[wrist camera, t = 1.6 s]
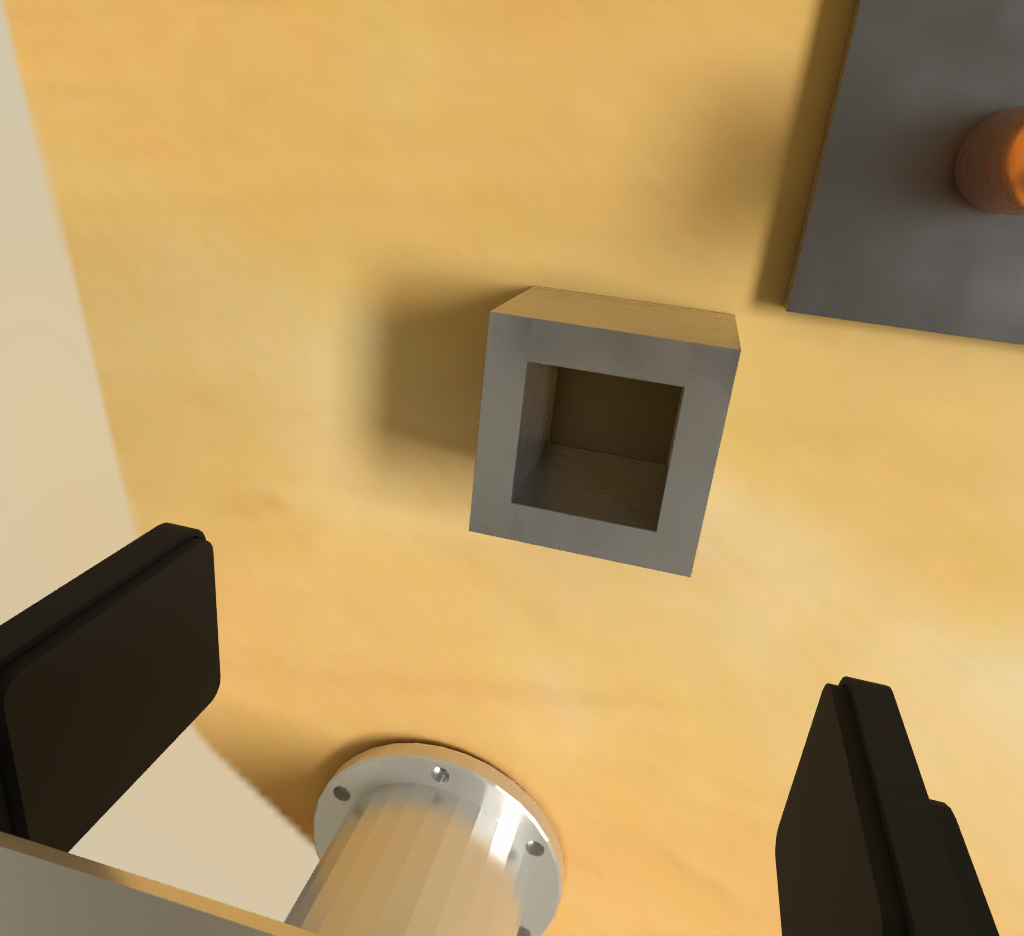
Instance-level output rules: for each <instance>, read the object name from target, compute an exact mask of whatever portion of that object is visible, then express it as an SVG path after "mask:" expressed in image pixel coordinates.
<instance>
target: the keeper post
mask: <svg viewBox="0 0 1024 936" xmlns="http://www.w3.org/2000/svg"><path fill="white" fill-rule="evenodd" d="M784 308H785V310H786V311H789V312H796V313H803V314H810V315H817V316H824V317H831V318H838V319H845V320H852V321H859V322H866V323H873V324H880V325H888V326H895V327H902V328H909V329H916V330H923V331H930V332H937V333H944V334H951V335H958V336H965V337H972V338H979V339H986V340H993V341H1000V342H1007V343H1014V344H1021V345H1024V0H857V1H856V6H855V10H854V14H853V18H852V22H851V27H850V31H849V35H848V39H847V43H846V48H845V52H844V56H843V60H842V64H841V69H840V73H839V77H838V81H837V85H836V90H835V94H834V98H833V102H832V106H831V110H830V115H829V119H828V123H827V127H826V131H825V136H824V140H823V144H822V148H821V152H820V157H819V161H818V165H817V169H816V173H815V178H814V182H813V186H812V190H811V194H810V199H809V203H808V207H807V211H806V215H805V220H804V224H803V228H802V232H801V236H800V241H799V245H798V249H797V253H796V257H795V262H794V266H793V270H792V274H791V278H790V282H789V287H788V291H787V295H786V299H785V303H784Z"/></svg>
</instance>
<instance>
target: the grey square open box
mask: <svg viewBox="0 0 1024 936" xmlns="http://www.w3.org/2000/svg"><path fill="white" fill-rule="evenodd" d="M740 352H741V347H740V342H739V336H738V331H737V325H736V320H735V315H732V314H725V313H718V312H711V311H704V310H697V309H690V308H683V307H677V306H670V305H663V304H656V303H649V302H642V301H635V300H628V299H621V298H614V297H607V296H601V295H594V294H587V293H580V292H573V291H566V290H559V289H552V288H545V287H538V286H533V287H532V288H530V289H528V290H526V291H525V292H523V293H521V294H519V295H518V296H516V297H514V298H512V299H511V300H509V301H507V302H505V303H504V304H502V305H500V306H498V307H497V308H495V309H493V310H491V311H490V314H489V324H488V335H487V346H486V356H485V367H484V377H483V388H482V398H481V409H480V420H479V430H478V441H477V451H476V462H475V472H474V483H473V494H472V504H471V515H470V525H469V531H472V532H477V533H482V534H486V535H491V536H496V537H501V538H505V539H510V540H515V541H520V542H525V543H529V544H534V545H539V546H544V547H548V548H553V549H558V550H563V551H567V552H572V553H577V554H582V555H587V556H591V557H596V558H601V559H606V560H610V561H615V562H620V563H625V564H630V565H634V566H639V567H644V568H649V569H653V570H658V571H663V572H668V573H673V574H677V575H682V576H687V577H691V573H692V568H693V564H694V559H695V555H696V550H697V546H698V541H699V537H700V532H701V528H702V523H703V519H704V514H705V510H706V505H707V501H708V496H709V492H710V487H711V483H712V478H713V474H714V469H715V465H716V460H717V456H718V451H719V447H720V442H721V438H722V433H723V429H724V424H725V420H726V415H727V411H728V406H729V402H730V397H731V393H732V388H733V384H734V379H735V375H736V370H737V366H738V361H739V357H740ZM559 367H565V368H571V369H577V370H583V371H590V372H596V373H602V374H608V375H614V376H620V377H626V378H632V379H638V380H645V381H651V382H657V383H663V384H669V385H675V386H681V387H682V391H681V396H680V401H679V406H678V411H677V416H676V421H675V426H674V431H673V436H672V442H671V447H670V452H669V457H668V462H667V465H666V464H661V463H655V462H650V461H644V460H639V459H633V458H628V457H623V456H617V455H612V454H606V453H601V452H595V451H590V450H584V449H579V448H573V447H568V446H563V445H557V444H552V443H549V437H550V429H551V422H552V414H553V406H554V399H555V391H556V384H557V376H558V369H559Z"/></svg>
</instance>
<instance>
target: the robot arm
mask: <svg viewBox="0 0 1024 936" xmlns="http://www.w3.org/2000/svg"><path fill="white" fill-rule="evenodd" d="M219 685H220V660H219V643H218V625H217V608H216V590H215V573H214V555H213V547H212V545H211V543H210V542H208V541H206V538H205V536H204V534H203V532H201V531H200V530H198V529H194V528H189V527H185V526H180V525H176V524H172V523H163V524H160V525H158V526H156V527H155V528H153V529H152V530H150V531H149V532H147V533H145V534H144V535H142V536H141V537H139V538H138V539H136V540H134V541H133V542H131V543H130V544H128V545H126V546H125V547H123V548H122V549H120V550H119V551H117V552H116V553H114V554H112V555H111V556H109V557H108V558H106V559H104V560H103V561H101V562H100V563H98V564H97V565H95V566H93V567H92V568H90V569H89V570H87V571H85V572H84V573H82V574H81V575H79V576H78V577H76V578H75V579H73V580H71V581H70V582H68V583H67V584H65V585H63V586H62V587H60V588H59V589H57V590H55V591H54V592H52V593H51V594H49V595H48V596H46V597H44V598H43V599H42V600H40V601H38V602H37V603H35V604H33V605H32V606H30V607H29V608H27V609H25V610H24V611H23V612H21V613H19V614H18V615H16V616H14V617H13V618H11V619H10V620H8V621H7V622H5V623H3V624H2V625H0V936H541V935H542V934H543V933H544V932H545V931H546V930H547V928H548V927H549V925H550V924H551V922H552V921H553V919H554V918H555V916H556V912H557V909H558V906H559V903H560V900H561V895H562V889H563V883H564V878H565V873H564V859H563V854H562V851H561V847H560V844H559V841H558V838H557V835H556V833H555V832H554V830H553V828H552V826H551V824H550V822H549V821H548V819H547V817H546V815H545V814H544V813H543V812H542V810H541V809H540V808H539V807H538V805H537V804H536V803H535V802H534V800H533V799H532V798H531V797H530V796H529V795H528V794H527V793H526V792H525V791H524V790H522V789H521V788H520V787H519V786H518V785H517V784H516V783H515V782H514V781H513V780H511V779H510V778H508V777H507V776H505V775H504V774H502V773H501V772H499V771H498V770H496V769H495V768H493V767H492V766H490V765H488V764H486V763H484V762H482V761H480V760H478V759H476V758H474V757H471V756H469V755H467V754H465V753H461V752H458V751H455V750H451V749H448V748H445V747H442V746H435V745H428V744H421V743H393V744H389V745H384V746H379V747H374V748H371V749H369V750H367V751H365V752H362V753H360V754H358V755H356V756H354V757H353V758H351V759H350V760H349V761H347V762H346V763H345V764H343V765H342V766H341V767H340V768H339V769H338V770H337V772H336V773H335V774H334V776H333V777H332V778H331V780H330V781H329V782H328V784H327V786H326V788H325V789H324V791H323V793H322V795H321V796H320V798H319V800H318V802H317V806H316V810H315V814H314V821H313V836H314V841H315V846H316V850H317V854H318V857H319V859H320V861H319V863H318V865H317V867H316V868H315V870H314V872H313V873H312V875H311V877H310V879H309V880H308V882H307V884H306V885H305V887H304V889H303V891H302V892H301V894H300V896H299V897H298V899H297V901H296V903H295V904H294V906H293V908H292V910H291V911H290V913H289V915H288V917H287V918H286V920H285V922H284V923H282V922H279V921H276V920H273V919H270V918H267V917H264V916H261V915H258V914H255V913H252V912H249V911H246V910H243V909H239V908H237V907H234V906H230V905H227V904H224V903H221V902H218V901H215V900H212V899H209V898H206V897H203V896H200V895H197V894H194V893H191V892H187V891H185V890H182V889H178V888H176V887H172V886H169V885H166V884H163V883H160V882H157V881H154V880H150V879H148V878H144V877H141V876H138V875H135V874H132V873H129V872H125V871H123V870H120V869H116V868H113V867H110V866H107V865H104V864H101V863H98V862H95V861H91V860H88V859H85V858H82V857H79V856H76V855H73V854H70V853H68V852H69V851H70V850H71V849H72V848H73V847H74V845H75V844H76V843H77V842H78V841H79V840H80V839H81V838H82V837H83V836H84V835H85V834H86V833H87V832H88V831H89V830H90V829H91V828H92V827H93V826H94V825H95V823H96V822H97V821H98V820H99V819H100V818H101V817H102V816H103V815H104V814H105V813H106V812H107V811H108V810H109V809H110V808H111V807H112V806H113V805H114V803H116V801H117V800H118V799H119V798H120V797H121V796H122V795H123V794H124V793H125V792H126V791H127V790H128V789H129V788H130V787H131V786H132V785H133V783H134V782H135V781H136V780H137V779H138V778H139V777H140V776H141V775H142V774H143V773H144V772H145V771H146V770H147V769H148V768H149V767H150V766H151V765H152V764H153V763H154V761H156V759H157V758H158V757H159V756H160V755H161V754H162V753H163V752H164V751H165V750H166V749H167V748H168V747H169V746H170V745H171V744H172V743H173V742H174V741H175V740H176V738H177V737H178V736H179V735H180V734H181V733H182V732H183V731H184V730H185V729H186V728H187V727H188V726H189V725H190V724H191V723H192V722H193V721H194V720H195V719H196V717H197V716H198V715H199V714H200V713H201V712H202V711H203V710H204V709H205V708H206V707H207V706H208V705H209V704H210V703H211V701H212V700H213V699H214V697H215V695H216V694H217V691H218V689H219ZM775 858H776V869H777V881H778V893H779V904H780V916H781V927H782V936H999V933H998V931H997V928H996V925H995V923H994V920H993V917H992V914H991V912H990V909H989V906H988V904H987V901H986V898H985V896H984V893H983V890H982V888H981V885H980V882H979V879H978V877H977V874H976V871H975V869H974V866H973V863H972V861H971V858H970V855H969V852H968V850H967V847H966V844H965V842H964V839H963V836H962V834H961V831H960V828H959V825H958V823H957V820H956V818H955V816H954V814H953V812H952V810H951V808H950V807H949V806H947V805H946V804H945V803H943V802H939V801H935V800H931V799H929V797H928V794H927V791H926V788H925V785H924V783H923V780H922V777H921V774H920V771H919V768H918V765H917V762H916V759H915V756H914V753H913V750H912V747H911V744H910V741H909V738H908V735H907V732H906V729H905V727H904V724H903V721H902V718H901V715H900V712H899V709H898V706H897V703H896V700H895V697H894V694H893V692H892V690H891V688H890V687H889V686H886V685H882V684H878V683H873V682H869V681H864V680H860V679H855V678H851V677H847V676H845V677H843V678H842V680H841V681H840V683H839V685H833V684H829V683H828V684H826V685H825V687H824V688H823V691H822V694H821V697H820V700H819V703H818V706H817V709H816V712H815V715H814V718H813V722H812V725H811V728H810V731H809V734H808V737H807V740H806V743H805V746H804V749H803V753H802V756H801V759H800V762H799V765H798V768H797V771H796V774H795V777H794V780H793V783H792V787H791V790H790V793H789V796H788V799H787V802H786V805H785V808H784V811H783V814H782V818H781V821H780V824H779V827H778V831H777V837H776V846H775Z"/></svg>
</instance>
